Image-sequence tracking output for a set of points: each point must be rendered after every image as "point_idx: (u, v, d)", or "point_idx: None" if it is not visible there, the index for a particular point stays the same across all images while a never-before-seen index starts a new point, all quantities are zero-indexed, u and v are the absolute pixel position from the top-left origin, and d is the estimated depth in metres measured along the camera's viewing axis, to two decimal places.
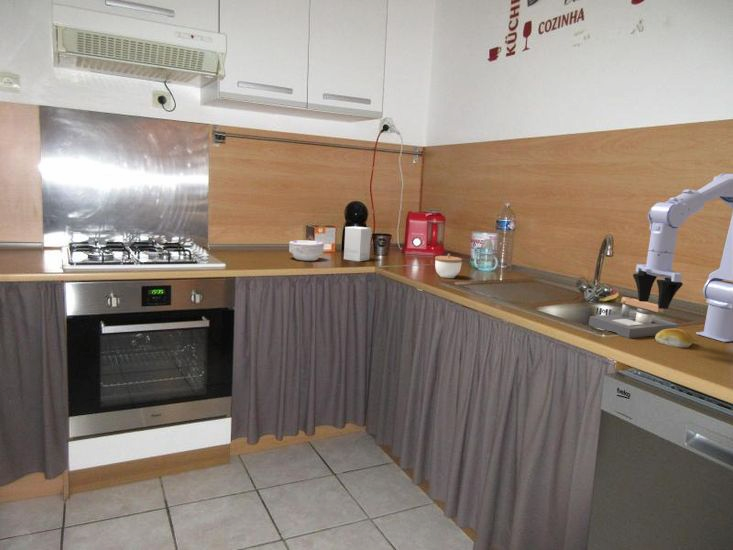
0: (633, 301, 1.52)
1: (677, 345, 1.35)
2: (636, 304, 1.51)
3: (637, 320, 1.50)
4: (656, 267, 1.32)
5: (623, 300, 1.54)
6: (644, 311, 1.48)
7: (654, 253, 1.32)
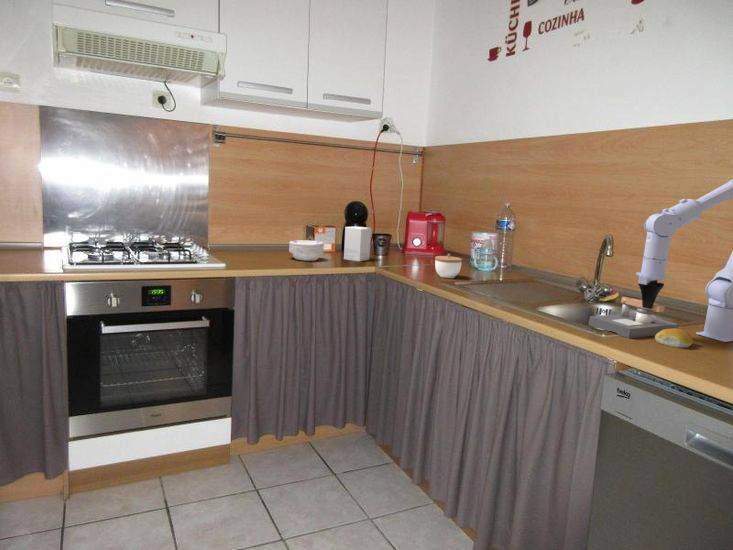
0: (633, 301, 1.52)
1: (677, 345, 1.35)
2: (636, 304, 1.51)
3: (637, 320, 1.50)
4: (642, 272, 1.46)
5: (623, 300, 1.54)
6: (644, 311, 1.48)
7: (643, 259, 1.46)
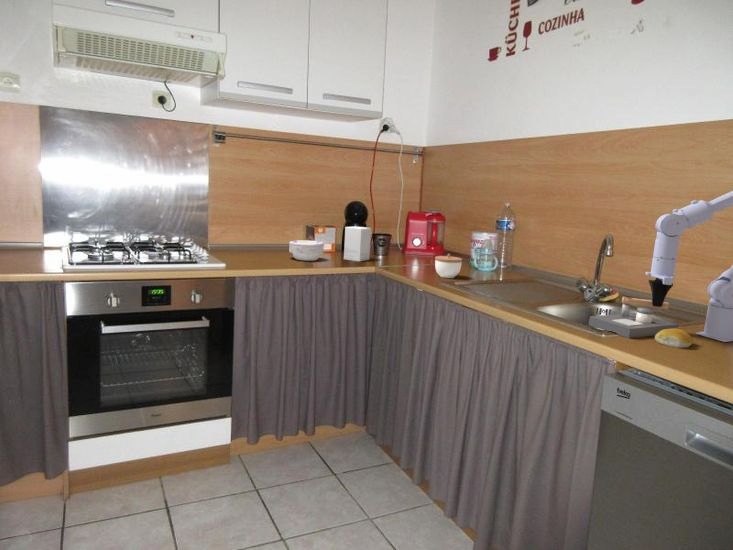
0: (638, 301, 1.52)
1: (677, 345, 1.35)
2: (642, 303, 1.52)
3: (637, 320, 1.50)
4: (655, 271, 1.48)
5: (626, 301, 1.54)
6: (644, 311, 1.48)
7: (654, 259, 1.48)
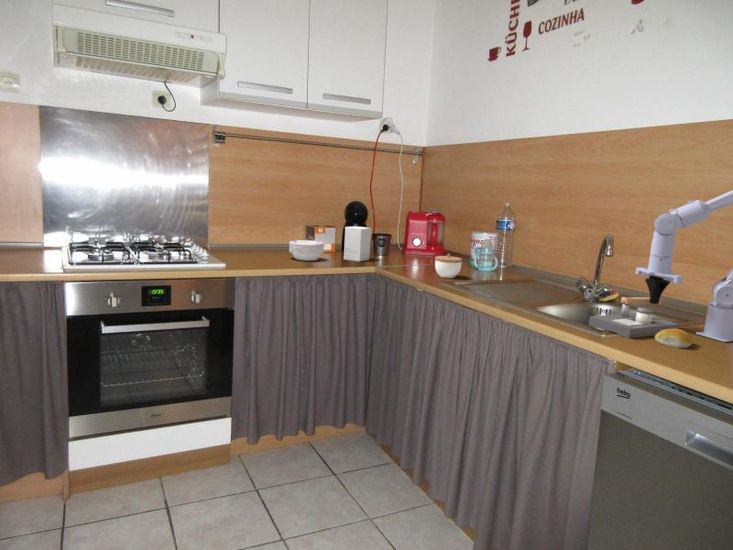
0: (638, 300, 1.54)
1: (677, 345, 1.35)
2: (641, 302, 1.54)
3: (637, 320, 1.50)
4: (658, 270, 1.51)
5: (629, 301, 1.53)
6: (644, 311, 1.48)
7: (657, 258, 1.51)
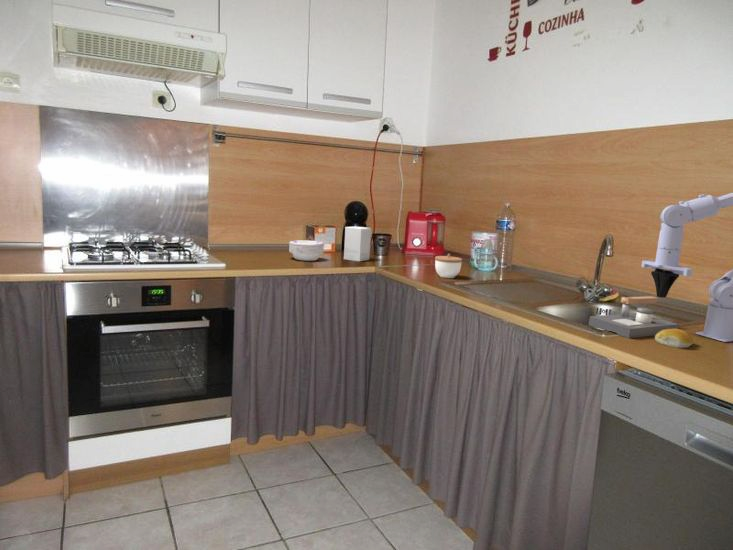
0: (638, 299, 1.55)
1: (677, 345, 1.35)
2: (640, 301, 1.55)
3: (637, 320, 1.50)
4: (667, 263, 1.47)
5: (630, 301, 1.53)
6: (644, 311, 1.48)
7: (665, 251, 1.47)
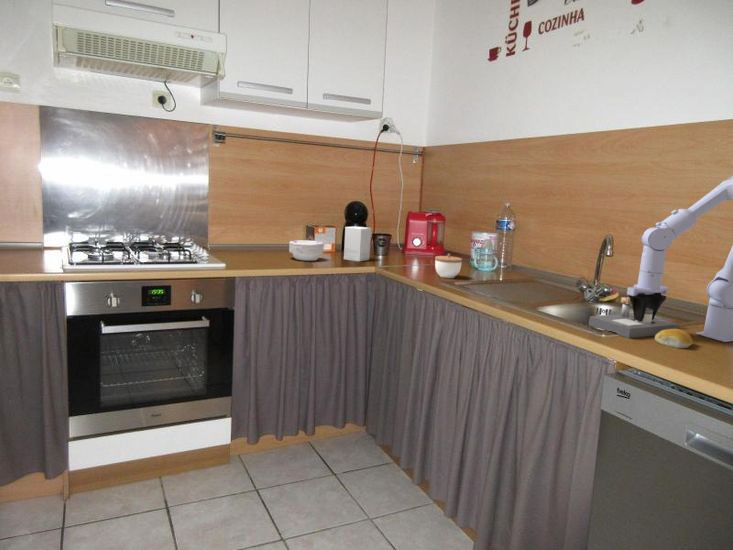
0: None
1: (677, 345, 1.34)
2: None
3: (637, 320, 1.50)
4: (637, 284, 1.49)
5: (630, 301, 1.53)
6: None
7: None
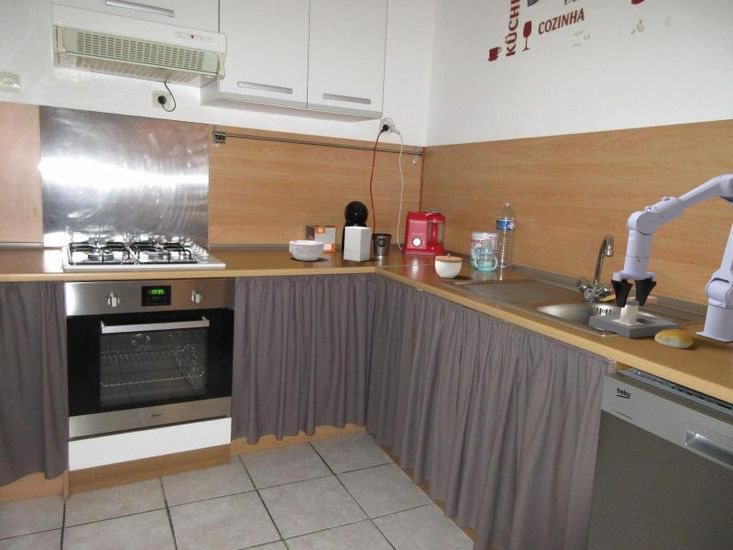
0: None
1: (677, 346, 1.34)
2: None
3: (623, 312, 1.46)
4: None
5: None
6: (630, 302, 1.45)
7: None
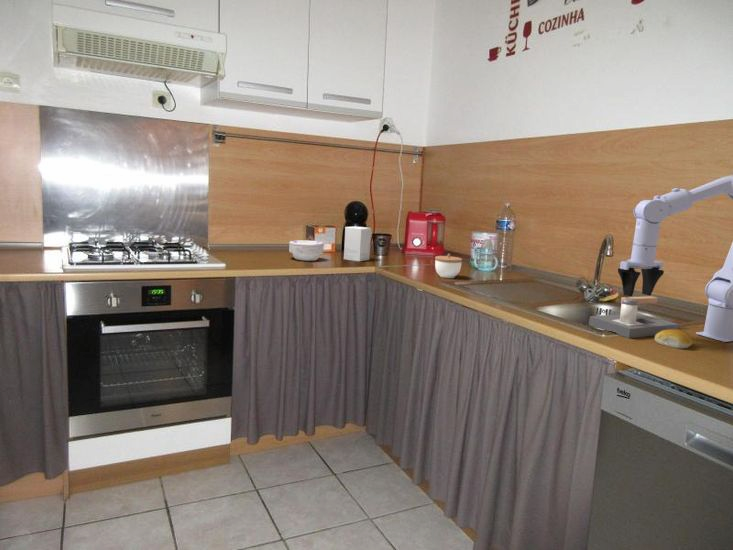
0: (638, 299, 1.55)
1: (676, 346, 1.34)
2: (640, 301, 1.55)
3: (622, 312, 1.46)
4: None
5: None
6: (629, 302, 1.45)
7: None
